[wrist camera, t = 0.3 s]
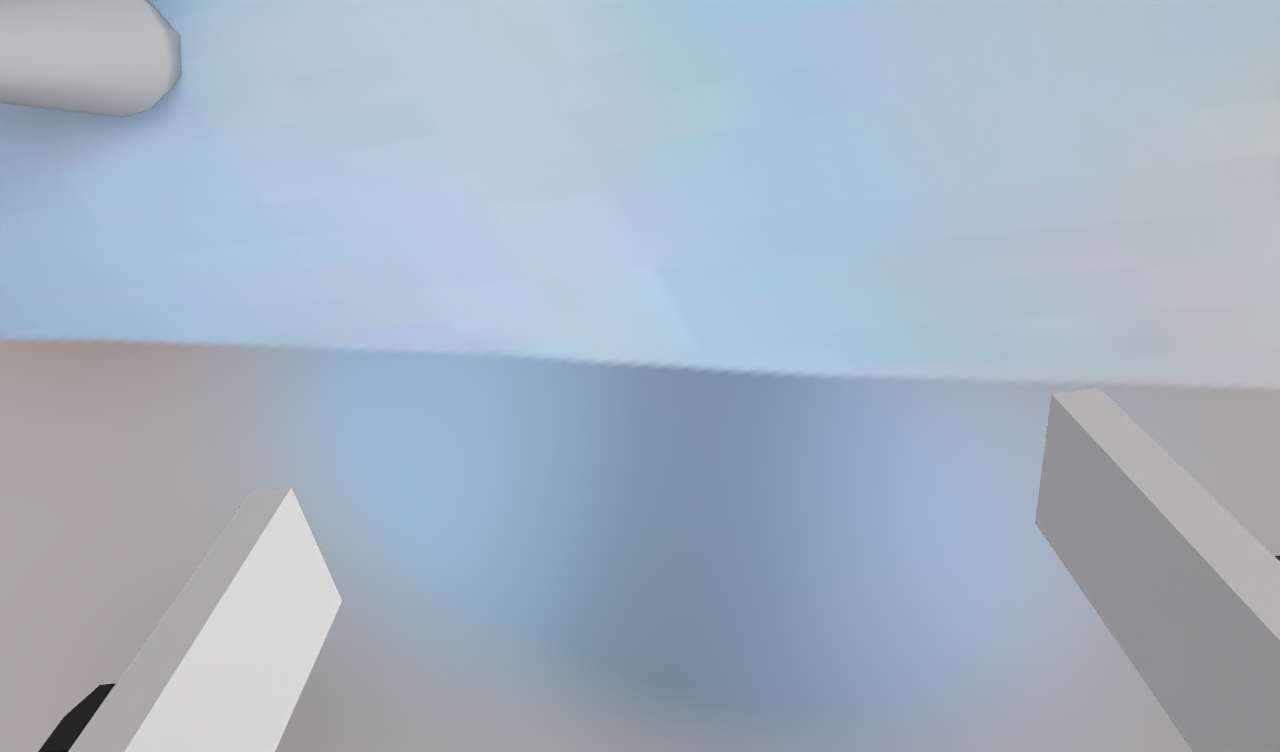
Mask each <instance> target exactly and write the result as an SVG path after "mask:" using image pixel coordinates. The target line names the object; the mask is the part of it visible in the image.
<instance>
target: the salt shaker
mask: <svg viewBox="0 0 1280 752" xmlns="http://www.w3.org/2000/svg"><path fill="white" fill-rule="evenodd" d="M180 77H181V43H180V35H179V34H178V33H177V31H176V30H175V29H174V28H173V27H172V26H171V25H170V24H169V23H168V22H167V20H166V19H165V18H164V17H163V16H162V15H161V14H160V13H159V12H158V10H157V9H156V8H155V7H154V6H153V5H152V4H151V3H150V2H149V1H148V0H0V103H6V104H15V105H23V106H32V107H40V108H49V109H57V110H65V111H74V112H82V113H91V114H99V115H108V116H116V117H125V116H128V115H132V114H135V113H139V112H142V111H145V110H148V109H151V108H153V107H154V106H155V105H156V104H157V103H158V102H159V100H160V99H161V98H162V97H163V96H164V95H165V94H166V93H167V92H168V91H169V90H170V88H171V87H172V86H173V85H174V84H175V83H176V82H177V81H178V79H179V78H180Z"/></svg>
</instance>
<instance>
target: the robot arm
mask: <svg viewBox="0 0 1280 752" xmlns="http://www.w3.org/2000/svg"><path fill="white" fill-rule="evenodd" d="M1035 523H1036V525H1037V526H1038V528H1039V529H1040V531H1041V532H1042V534H1043V535H1044V536H1045V538H1046V539H1047V541H1048V542H1049V544H1050V545H1051V547H1052V548H1053V549H1054V551H1055V552H1056V554H1057V555H1058V556H1059V558H1060V560H1061V561H1062V562H1063V564H1064V565H1065V567H1066V568H1067V570H1068V571H1069V573H1070V574H1071V575H1072V577H1073V578H1074V580H1075V581H1076V583H1077V584H1078V585H1079V587H1080V589H1081V590H1082V591H1083V593H1084V594H1085V596H1086V597H1087V599H1088V600H1089V601H1090V603H1091V604H1092V606H1093V607H1094V609H1095V610H1096V612H1097V613H1098V614H1099V616H1100V617H1101V619H1102V620H1103V622H1104V623H1105V625H1106V626H1107V628H1108V629H1109V631H1110V632H1111V633H1112V635H1113V636H1114V638H1115V639H1116V640H1117V642H1118V644H1119V645H1120V646H1121V648H1122V649H1123V651H1124V652H1125V654H1126V655H1127V657H1128V658H1129V660H1130V661H1131V662H1132V664H1133V665H1134V667H1135V668H1136V670H1137V671H1138V672H1139V674H1140V675H1141V677H1142V678H1143V680H1144V681H1145V682H1146V684H1147V686H1148V687H1149V688H1150V690H1151V691H1152V692H1153V694H1154V696H1155V697H1156V698H1157V700H1158V702H1159V703H1160V704H1161V706H1162V707H1163V709H1164V710H1165V712H1166V713H1167V715H1168V716H1169V717H1170V719H1171V720H1172V722H1173V723H1174V725H1175V726H1176V728H1177V729H1178V730H1179V732H1180V733H1181V735H1182V736H1183V738H1184V739H1185V741H1186V742H1187V744H1188V745H1189V746H1190V748H1191V749H1192V751H1193V752H1280V556H1274V555H1273V554H1272V553H1270V552H1269V551H1268V550H1267V549H1266V548H1265V547H1264V546H1263V545H1262V544H1261V543H1260V542H1259V541H1258V540H1257V539H1256V538H1255V537H1254V536H1253V535H1252V534H1251V533H1250V532H1249V531H1248V530H1246V529H1245V528H1244V527H1243V526H1242V525H1241V524H1240V523H1239V522H1238V521H1237V520H1236V519H1235V518H1234V517H1233V516H1232V515H1231V514H1230V513H1229V512H1228V511H1227V510H1226V509H1225V508H1224V507H1223V506H1222V505H1220V504H1219V503H1218V502H1217V501H1216V500H1215V499H1214V498H1213V497H1212V496H1211V495H1210V494H1209V493H1208V492H1207V491H1206V490H1205V489H1204V488H1203V487H1202V486H1201V485H1200V484H1199V483H1198V482H1196V481H1195V480H1194V479H1193V478H1192V477H1191V476H1190V475H1189V474H1188V473H1187V472H1186V471H1185V470H1184V469H1183V468H1182V467H1181V466H1180V465H1179V464H1178V463H1177V462H1176V461H1175V460H1174V459H1172V458H1171V457H1170V456H1169V455H1168V454H1167V453H1166V452H1165V451H1164V450H1163V449H1162V448H1161V447H1160V446H1159V445H1158V444H1157V443H1156V442H1155V441H1154V440H1152V438H1151V437H1149V436H1148V435H1147V434H1146V433H1145V432H1144V431H1143V430H1142V429H1141V428H1140V427H1139V426H1138V425H1137V424H1136V423H1135V422H1134V421H1133V420H1132V419H1131V418H1130V417H1129V416H1127V415H1126V414H1125V413H1124V412H1123V411H1122V410H1121V409H1120V408H1119V407H1118V406H1117V405H1116V404H1115V403H1114V402H1113V401H1112V400H1111V399H1110V398H1109V397H1108V396H1107V395H1106V394H1105V393H1104V392H1103V391H1101V390H1100V389H1099V388H1096V389H1089V390H1080V391H1072V392H1064V393H1055V394H1052V395H1051V403H1050V412H1049V419H1048V427H1047V435H1046V442H1045V450H1044V458H1043V466H1042V474H1041V481H1040V489H1039V497H1038V505H1037V513H1036V520H1035ZM341 602H342V600H341V598H340V595H339V593H338V591H337V589H336V587H335V584H334V582H333V580H332V577H331V575H330V573H329V571H328V569H327V566H326V564H325V562H324V559H323V557H322V555H321V553H320V550H319V549H318V546H317V544H316V542H315V539H314V537H313V535H312V533H311V530H310V528H309V526H308V524H307V521H306V519H305V517H304V514H303V512H302V510H301V508H300V505H299V503H298V502H297V499H296V496H295V494H294V492H293V490H292V488H291V487H290V488H282V489H274V490H265V491H257V492H250V493H249V494H248V496H247V498H246V499H245V500H244V502H243V503H242V504H241V506H240V507H239V509H238V510H237V512H236V513H235V514H234V516H233V517H232V519H231V520H230V521H229V523H228V524H227V526H226V527H225V529H224V530H223V531H222V533H221V534H220V536H219V537H218V539H217V540H216V541H215V543H214V544H213V546H212V547H211V549H210V550H209V551H208V553H207V554H206V556H205V557H204V559H203V560H202V561H201V563H200V564H199V566H198V567H197V569H196V570H195V571H194V573H193V574H192V576H191V577H190V579H189V580H188V581H187V583H186V585H185V586H184V587H183V589H182V590H181V591H180V593H179V595H178V596H177V597H176V599H175V600H174V601H173V603H172V604H171V606H170V607H169V609H168V610H167V611H166V613H165V614H164V616H163V617H162V618H161V620H160V621H159V623H158V624H157V626H156V627H155V628H154V630H153V631H152V633H151V634H150V636H149V637H148V638H147V640H146V641H145V643H144V644H143V646H142V647H141V648H140V650H139V651H138V653H137V654H136V656H135V657H134V658H133V660H132V661H131V663H130V664H129V666H128V667H127V669H126V670H125V671H124V673H123V674H122V676H121V677H120V678H119V680H118V681H117V683H115V684H106V685H99V686H98V687H97V688H96V689H95V690H94V691H93V692H92V693H91V694H90V695H88V696H87V697H86V698H85V699H84V700H83V701H82V702H80V703H79V704H78V705H77V706H76V707H75V708H74V709H73V710H72V711H70V712H69V713H68V714H67V715H66V716H65V717H64V718H63V719H62V720H61V722H60V723H59V725H58V726H57V727H56V729H55V730H54V731H53V733H52V734H51V735H50V737H49V738H48V739H47V741H46V742H45V743H44V745H43V746H42V748H41V749H40V750H39V752H275V750H276V748H277V746H278V744H279V741H280V739H281V737H282V735H283V732H284V730H285V728H286V726H287V723H288V721H289V719H290V717H291V714H292V712H293V710H294V708H295V705H296V703H297V701H298V698H299V697H300V694H301V692H302V690H303V687H304V685H305V683H306V681H307V678H308V676H309V674H310V672H311V670H312V667H313V665H314V663H315V661H316V658H317V656H318V654H319V652H320V649H321V647H322V645H323V643H324V640H325V638H326V636H327V634H328V631H329V629H330V627H331V625H332V622H333V620H334V618H335V616H336V613H337V611H338V609H339V607H340V604H341Z"/></svg>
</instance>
